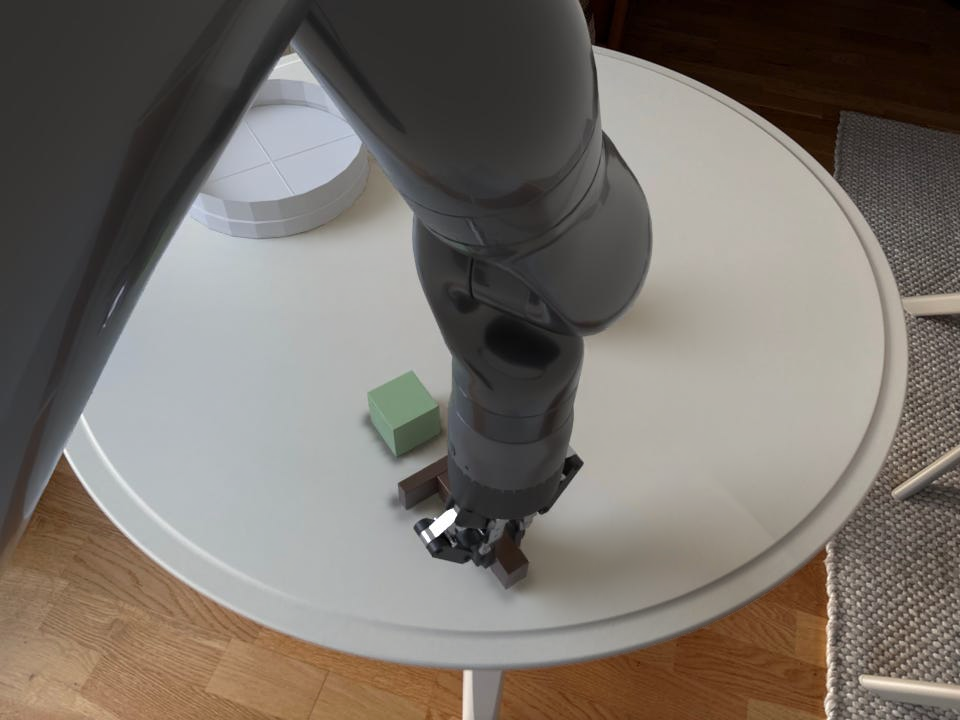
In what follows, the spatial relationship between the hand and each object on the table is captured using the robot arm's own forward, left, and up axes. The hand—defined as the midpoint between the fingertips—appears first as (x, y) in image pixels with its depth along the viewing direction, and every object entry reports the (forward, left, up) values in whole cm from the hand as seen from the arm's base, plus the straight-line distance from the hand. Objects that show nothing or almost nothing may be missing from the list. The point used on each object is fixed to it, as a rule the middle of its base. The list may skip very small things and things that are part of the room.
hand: (495, 548), depth 62 cm
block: (+5, +13, -1) cm, 14 cm away
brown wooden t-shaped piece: (+1, +2, -1) cm, 2 cm away
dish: (+23, +48, -2) cm, 53 cm away
